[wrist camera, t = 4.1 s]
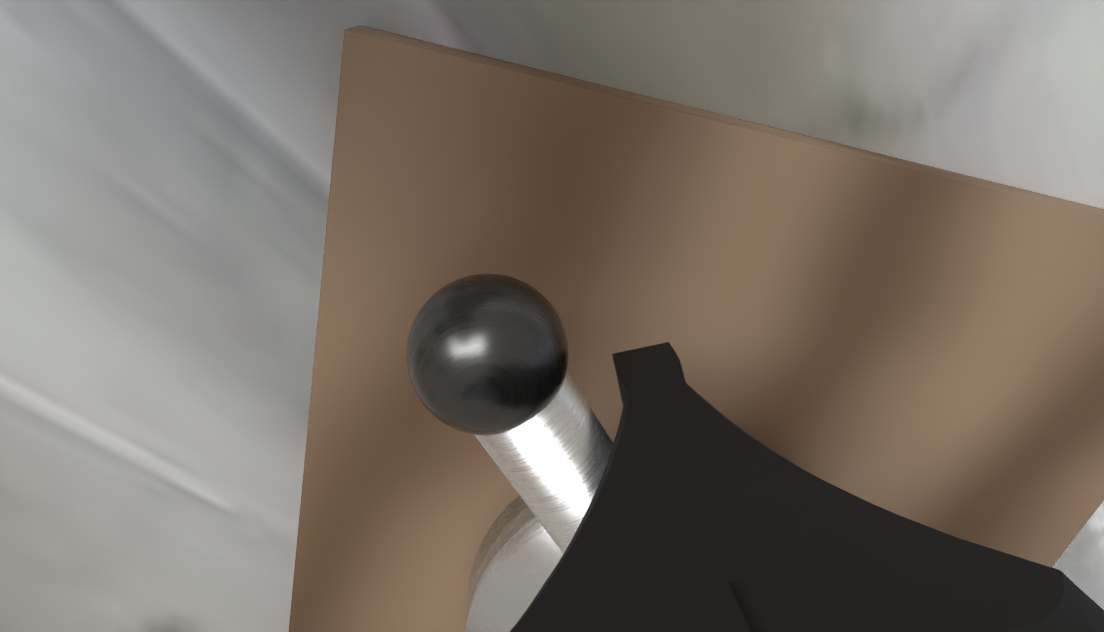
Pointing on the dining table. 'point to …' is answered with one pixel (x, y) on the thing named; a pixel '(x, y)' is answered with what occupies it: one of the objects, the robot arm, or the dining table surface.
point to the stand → (683, 315)
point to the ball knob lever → (511, 428)
